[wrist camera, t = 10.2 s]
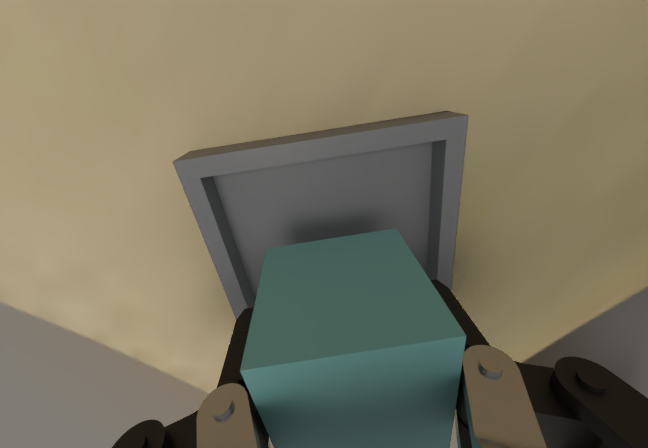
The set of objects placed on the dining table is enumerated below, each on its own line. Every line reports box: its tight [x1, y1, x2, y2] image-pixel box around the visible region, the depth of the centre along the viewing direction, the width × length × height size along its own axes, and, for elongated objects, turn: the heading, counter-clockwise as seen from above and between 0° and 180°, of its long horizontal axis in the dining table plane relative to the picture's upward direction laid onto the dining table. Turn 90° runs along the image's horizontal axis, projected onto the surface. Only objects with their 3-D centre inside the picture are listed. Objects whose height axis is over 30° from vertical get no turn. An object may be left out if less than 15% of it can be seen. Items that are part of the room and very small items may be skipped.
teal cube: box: [240, 228, 466, 448], centre depth 9 cm, size 5×5×5 cm
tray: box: [173, 111, 468, 320], centre depth 14 cm, size 12×12×2 cm
